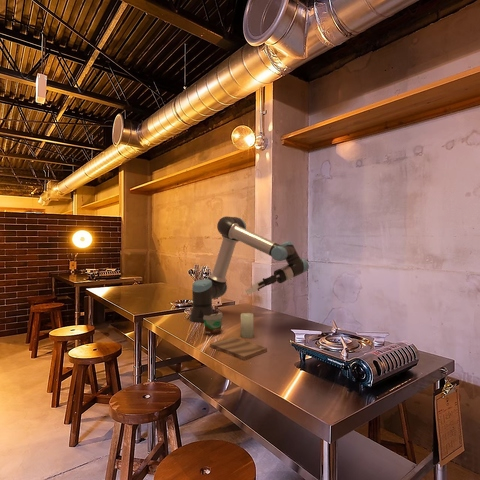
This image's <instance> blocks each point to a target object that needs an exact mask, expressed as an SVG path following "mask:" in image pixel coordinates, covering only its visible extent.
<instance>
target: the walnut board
mask: <svg viewBox="0 0 480 480" xmlns="http://www.w3.org/2000/svg"><path fill="white" fill-rule="evenodd" d="M209 347H210V348H212V349H214V350H217V351H220V352H223V353H225V354H228V355H231V356H233V357H234V358H238V359H240V360H243V361H246V360H248V359H251V358H254V357H256V356H258V355H261V354H264V353H266V352H268V348H267V347H266V346H262V345H258V344H256V343H254V342H250V341H247V340H244V339H241V338H238V337H235V336H230V337H227V338H223V339H221V340H217V341H214V342H210V343H209Z"/></svg>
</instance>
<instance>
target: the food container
mask: <svg viewBox="0 0 480 480" xmlns="http://www.w3.org/2000/svg"><path fill="white" fill-rule="evenodd" d="M223 317H224V315H223V312H222V311H220V310H219V311H218V312H216V313H214V314H211V315H209V316H205V315H204V317H203V320H204V322H203V323H204V334H205V335H207V336H213V335H215V336H216V335H218V334H221V332H222V319H223Z"/></svg>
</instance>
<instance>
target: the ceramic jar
mask: <svg viewBox="0 0 480 480" xmlns="http://www.w3.org/2000/svg"><path fill="white" fill-rule="evenodd" d="M254 334H255V333H254V313H253V312H242V313H240V337H241V338H243V339H252V338H254Z"/></svg>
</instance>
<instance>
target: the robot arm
mask: <svg viewBox="0 0 480 480" xmlns="http://www.w3.org/2000/svg"><path fill="white" fill-rule="evenodd" d="M216 224H217V226H216V227H217V231H218V233H219V234H220V235H221V238H222V241H221V244H220V247H219V251H218V255H217V258H216V262H215V264H214V267H213V270H212V273H211V274H209V275H208V278H207V279H204V278H203V279H198V280H195V281H193V283H192V287H191V290H192V308H191V311H190V314H189V321H190V322H193V323H204V320H203V317H204V315H205V316H209V315H211V314H215V311H214V309H213V300H214V299H218V298H220V297H223V296H224V295H225V294H226V292H227V290H228V285H227V278H226V277H227V272H228V270H229V266H230V263H231V260H232V258H233V254H234V251H235V248H236V244H237V243H238V242H240V243H243V244H245V245H247V246H250V247H251V248H253V249H255V250H257V251H259V252H262V253H264V254H266V255H268V256H270V257H272V259H273V260H275V261H279V262H282V261H286V263H287V265H285V266H282V267H280V268H278V269H276V270H274V271H273V274H272V275H270V276H269V277H264V278H262V280H259V281H258V282H255V283H253V284H251V287H249V288H247V289H245V292H246V294H247V295H250V294H253V293H254V292H259V291H260V289H262V288H264V287H266V286H270V285H272V284H273V285H274V284H275V283H278V284H282V283H285V282H287V281H289V280H292V279H293V278H296V277H298V276H300V275H301V274H304V273H305V272H308V270H309V269H310V265H309V262H308V261H307V259H306V258H301V257H300V255H299V253H298V252H297V250H296V247H295V246H294V244H293V243H292V241H291V240H288V241H285V242H283V243H282V244H279V243H277V242H274V241H273V240H270V239H268V238H267V237H264V236H261V235H259V234H258V233H254V232H253V231H251V230H248V229H247V225H246V223H245V221H244V220H243V219H242V218H241V217H237V216H229V215H228V216H223V217H221V218H220V219H219V220H218V221H217V223H216Z"/></svg>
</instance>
